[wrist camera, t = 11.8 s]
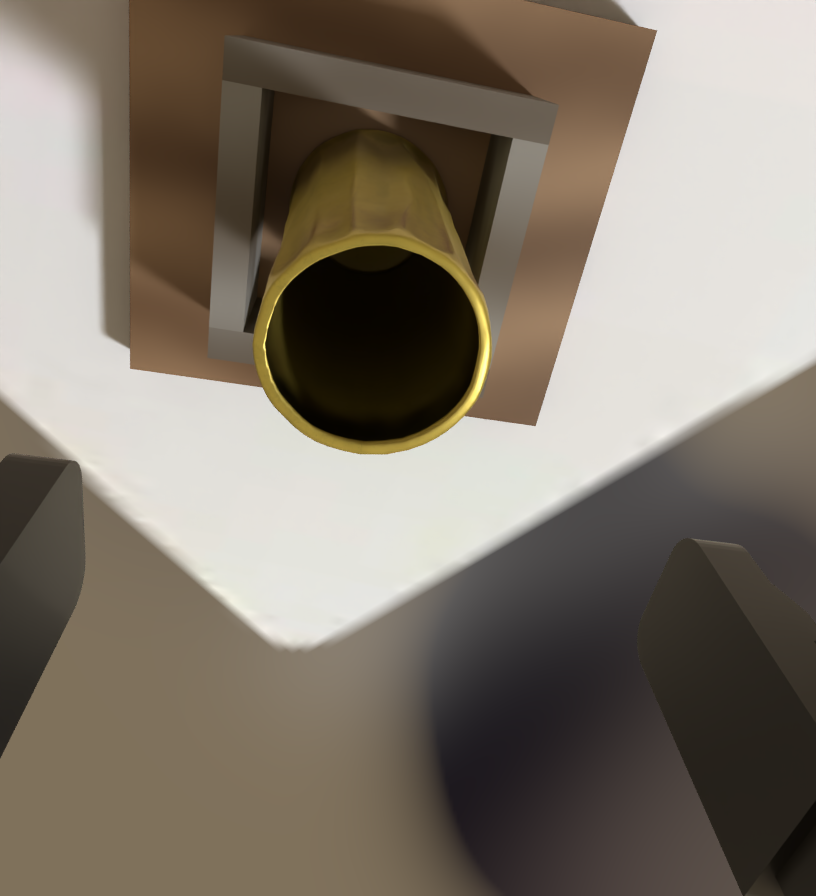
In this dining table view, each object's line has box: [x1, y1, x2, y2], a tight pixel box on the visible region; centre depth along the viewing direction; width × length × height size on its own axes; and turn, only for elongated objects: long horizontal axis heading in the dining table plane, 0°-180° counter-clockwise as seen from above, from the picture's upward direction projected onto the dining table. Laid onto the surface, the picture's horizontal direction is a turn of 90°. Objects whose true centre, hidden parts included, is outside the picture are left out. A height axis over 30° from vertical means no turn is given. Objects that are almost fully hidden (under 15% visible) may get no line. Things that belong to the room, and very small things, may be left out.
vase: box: [252, 129, 492, 454], centre depth 22 cm, size 6×6×14 cm
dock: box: [129, 0, 657, 426], centre depth 27 cm, size 16×18×6 cm
